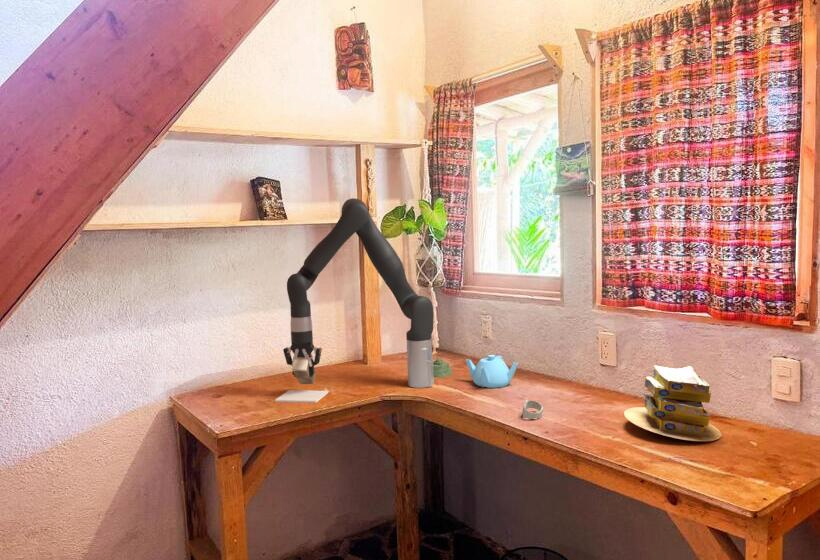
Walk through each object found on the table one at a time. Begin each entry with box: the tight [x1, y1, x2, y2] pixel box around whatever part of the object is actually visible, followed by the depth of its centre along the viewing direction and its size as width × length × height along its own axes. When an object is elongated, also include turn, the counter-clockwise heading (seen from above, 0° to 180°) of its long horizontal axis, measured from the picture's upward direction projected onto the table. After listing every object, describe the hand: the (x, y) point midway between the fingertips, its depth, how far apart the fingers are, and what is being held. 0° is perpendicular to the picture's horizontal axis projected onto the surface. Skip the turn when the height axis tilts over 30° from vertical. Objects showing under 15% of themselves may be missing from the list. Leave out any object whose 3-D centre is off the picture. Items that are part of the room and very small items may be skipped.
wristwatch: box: [521, 398, 545, 420], centre depth 187 cm, size 9×6×5 cm
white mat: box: [274, 389, 329, 404], centre depth 217 cm, size 15×13×1 cm
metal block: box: [291, 357, 317, 385], centre depth 220 cm, size 5×5×10 cm
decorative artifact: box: [433, 356, 453, 378], centre depth 243 cm, size 10×7×10 cm
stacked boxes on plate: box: [623, 365, 722, 442], centre depth 170 cm, size 25×25×17 cm
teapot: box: [465, 354, 519, 389], centre depth 225 cm, size 15×15×11 cm
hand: (303, 376), depth 219 cm, fingers closed on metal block, 5 cm apart
